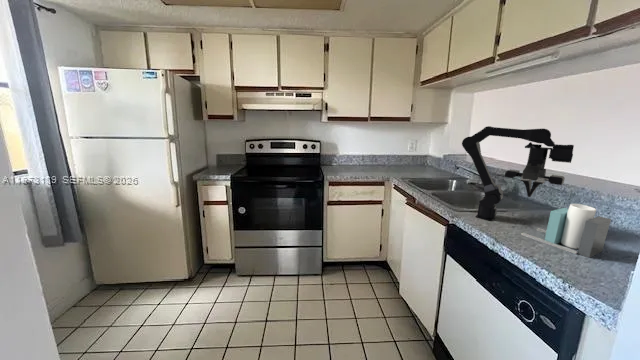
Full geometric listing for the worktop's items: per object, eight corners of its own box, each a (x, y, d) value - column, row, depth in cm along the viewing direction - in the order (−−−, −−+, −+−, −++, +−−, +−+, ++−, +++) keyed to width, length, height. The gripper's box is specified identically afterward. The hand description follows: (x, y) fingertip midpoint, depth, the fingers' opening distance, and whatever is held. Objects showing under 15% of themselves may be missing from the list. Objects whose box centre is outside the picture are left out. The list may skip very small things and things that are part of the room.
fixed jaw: (521, 234, 106) (527, 205, 103) (537, 230, 111) (543, 202, 108) (587, 258, 88) (597, 224, 86) (603, 251, 93) (612, 218, 91)
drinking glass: (583, 246, 97) (597, 207, 93) (581, 252, 92) (595, 212, 88) (559, 239, 101) (571, 202, 97) (555, 244, 97) (568, 205, 93)
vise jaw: (544, 241, 100) (550, 211, 97) (557, 237, 104) (564, 207, 101) (553, 245, 97) (561, 213, 94) (567, 240, 101) (574, 210, 99)
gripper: (504, 158, 110) (497, 195, 114) (564, 164, 97) (554, 206, 100) (511, 156, 117) (505, 191, 121) (568, 162, 104) (559, 200, 107)
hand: (529, 196), depth 112 cm, fingers closed
